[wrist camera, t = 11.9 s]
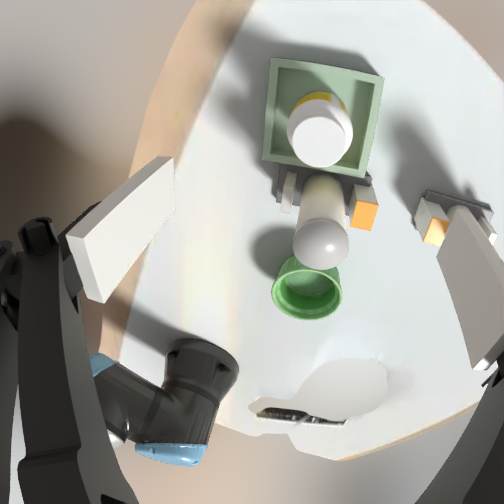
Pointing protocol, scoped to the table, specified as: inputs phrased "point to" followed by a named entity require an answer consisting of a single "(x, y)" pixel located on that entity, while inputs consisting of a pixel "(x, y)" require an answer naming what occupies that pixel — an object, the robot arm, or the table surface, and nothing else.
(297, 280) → the ramekin
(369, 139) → the tray
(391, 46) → the table surface
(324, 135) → the supplement bottle
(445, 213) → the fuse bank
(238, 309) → the table surface
